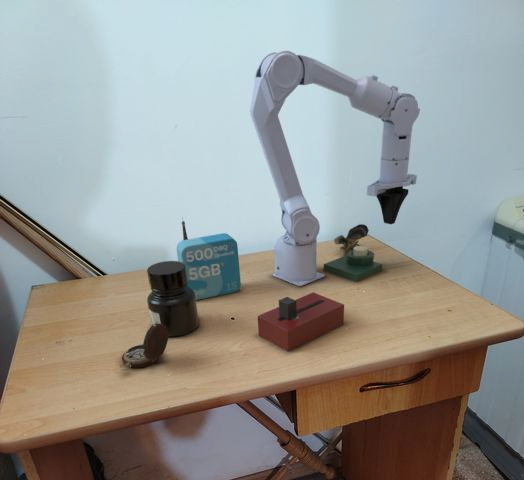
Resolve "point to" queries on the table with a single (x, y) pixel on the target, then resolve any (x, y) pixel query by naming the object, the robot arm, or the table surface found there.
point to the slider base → (301, 321)
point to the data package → (210, 264)
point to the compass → (147, 348)
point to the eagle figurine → (352, 237)
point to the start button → (360, 251)
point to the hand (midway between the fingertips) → (389, 222)
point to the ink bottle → (172, 298)
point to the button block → (354, 266)
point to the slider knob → (287, 308)
